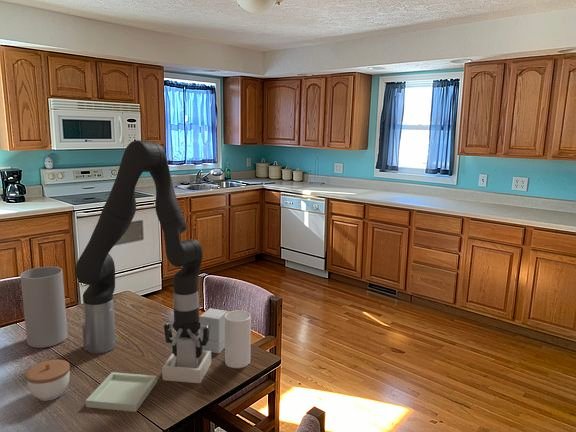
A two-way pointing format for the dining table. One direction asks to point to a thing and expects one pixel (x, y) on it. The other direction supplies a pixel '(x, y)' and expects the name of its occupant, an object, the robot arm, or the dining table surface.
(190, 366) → the beverage can
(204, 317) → the supplement box
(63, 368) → the lidded jar
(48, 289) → the cylinder vase
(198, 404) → the dining table surface
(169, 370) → the holder
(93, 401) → the tray
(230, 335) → the cup
